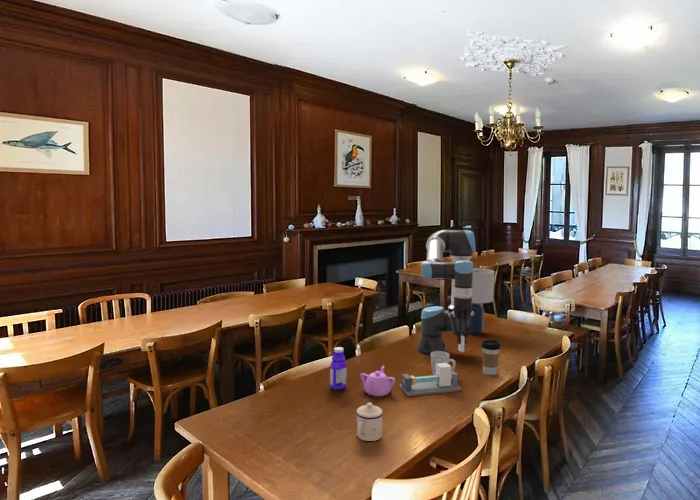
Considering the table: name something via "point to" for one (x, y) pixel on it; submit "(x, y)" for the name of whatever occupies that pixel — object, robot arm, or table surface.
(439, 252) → the robot arm
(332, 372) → the bottle
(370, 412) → the teacup with lid
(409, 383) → the slider rail
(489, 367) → the coffee cup
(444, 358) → the mug
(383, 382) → the teapot
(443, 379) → the white slider block
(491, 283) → the lamp
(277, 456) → the table surface
